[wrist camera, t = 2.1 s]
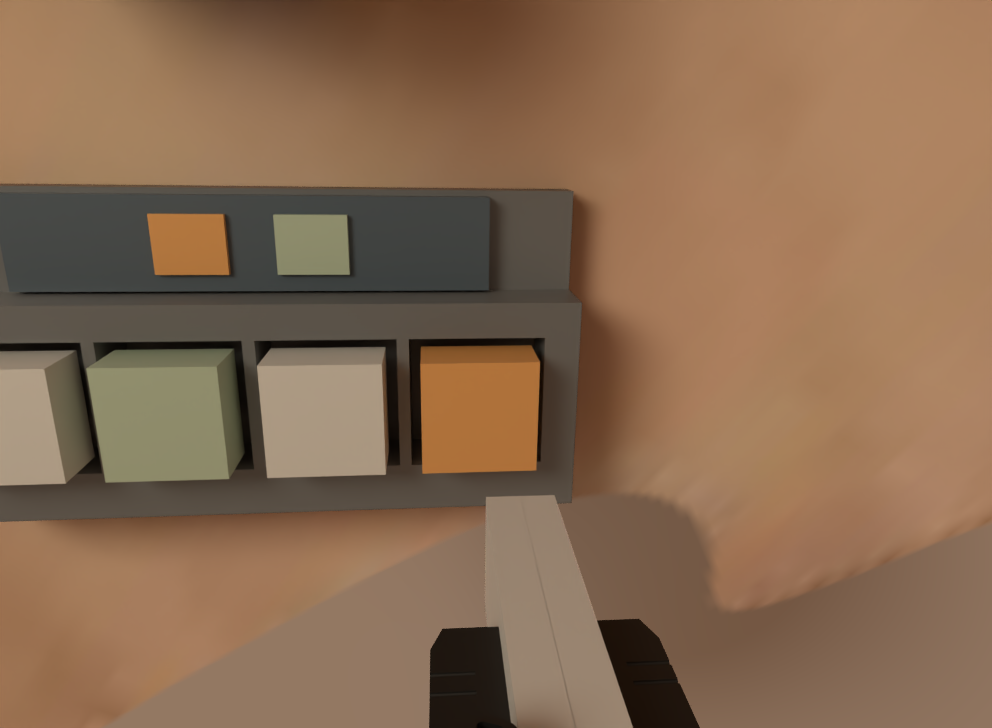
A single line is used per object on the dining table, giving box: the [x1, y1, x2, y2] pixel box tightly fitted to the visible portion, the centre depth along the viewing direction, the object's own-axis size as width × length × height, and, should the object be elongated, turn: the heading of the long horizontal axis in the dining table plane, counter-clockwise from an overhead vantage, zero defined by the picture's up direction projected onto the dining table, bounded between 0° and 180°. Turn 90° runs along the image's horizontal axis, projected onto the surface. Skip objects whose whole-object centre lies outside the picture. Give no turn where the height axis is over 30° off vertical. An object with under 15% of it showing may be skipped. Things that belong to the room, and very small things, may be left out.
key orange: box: [420, 345, 540, 474], centre depth 23 cm, size 4×4×2 cm
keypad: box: [0, 184, 582, 522], centre depth 24 cm, size 22×11×4 cm, turn 89°
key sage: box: [86, 349, 245, 483], centre depth 23 cm, size 4×4×2 cm
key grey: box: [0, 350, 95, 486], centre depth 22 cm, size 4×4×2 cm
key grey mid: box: [257, 347, 389, 478], centre depth 23 cm, size 4×4×2 cm
